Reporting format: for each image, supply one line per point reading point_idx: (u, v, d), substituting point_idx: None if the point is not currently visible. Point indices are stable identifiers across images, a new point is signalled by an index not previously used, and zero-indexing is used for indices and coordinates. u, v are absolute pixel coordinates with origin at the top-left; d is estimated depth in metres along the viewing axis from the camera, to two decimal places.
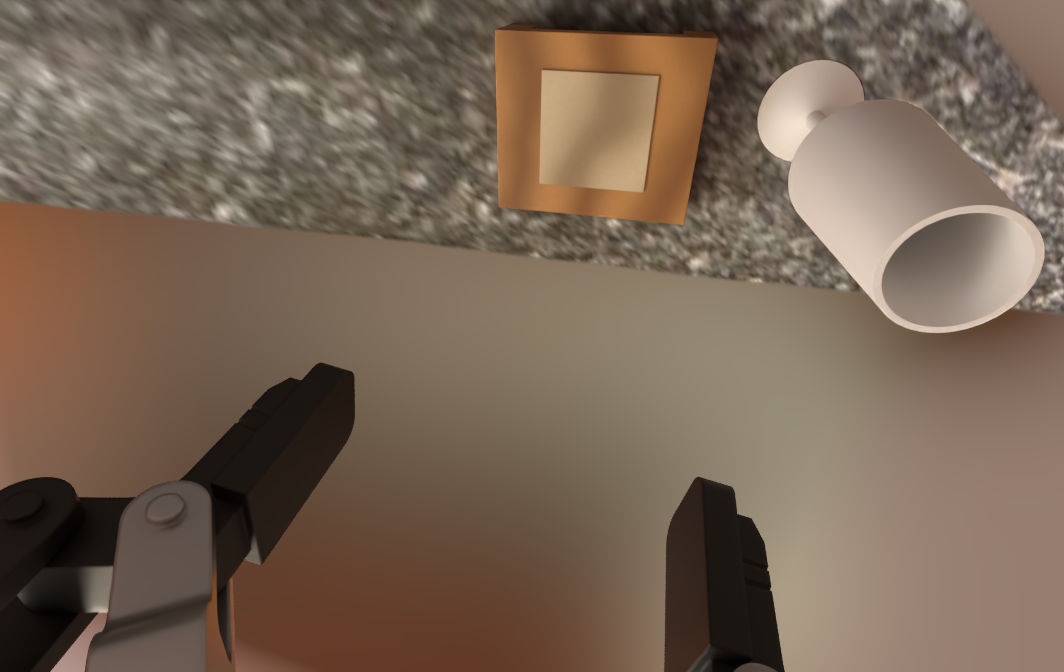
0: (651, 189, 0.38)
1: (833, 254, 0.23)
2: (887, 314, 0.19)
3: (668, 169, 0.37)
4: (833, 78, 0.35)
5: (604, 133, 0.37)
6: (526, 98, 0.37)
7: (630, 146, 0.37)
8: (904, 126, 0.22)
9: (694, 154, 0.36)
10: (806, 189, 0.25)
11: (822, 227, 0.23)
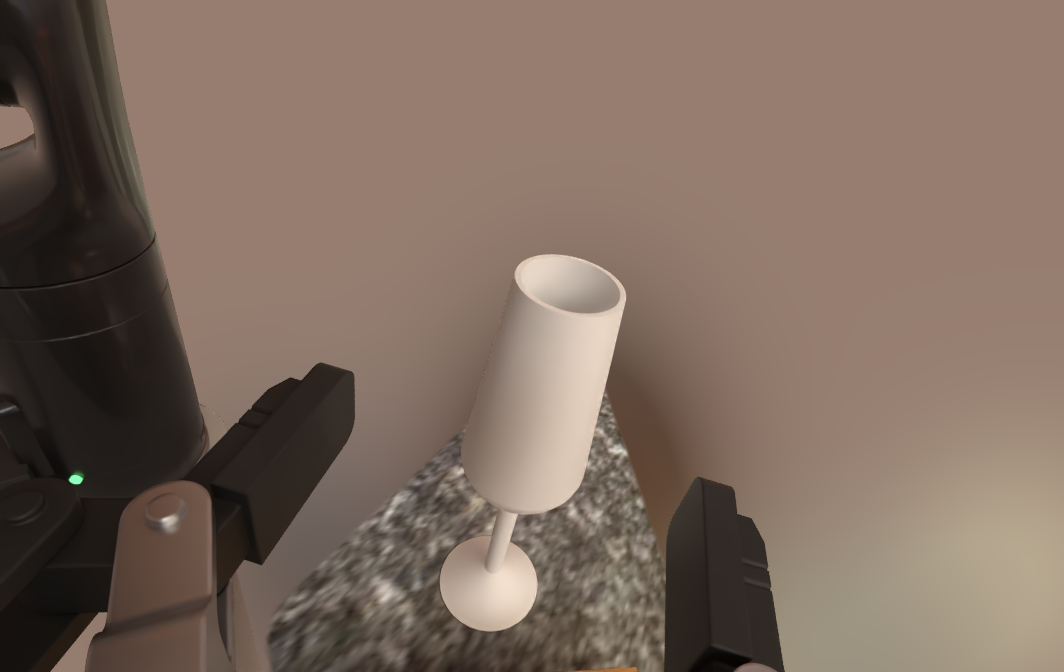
0: None
1: (594, 404, 0.24)
2: (620, 306, 0.22)
3: None
4: (455, 566, 0.36)
5: None
6: None
7: None
8: (477, 408, 0.26)
9: None
10: (546, 467, 0.25)
11: (573, 423, 0.24)
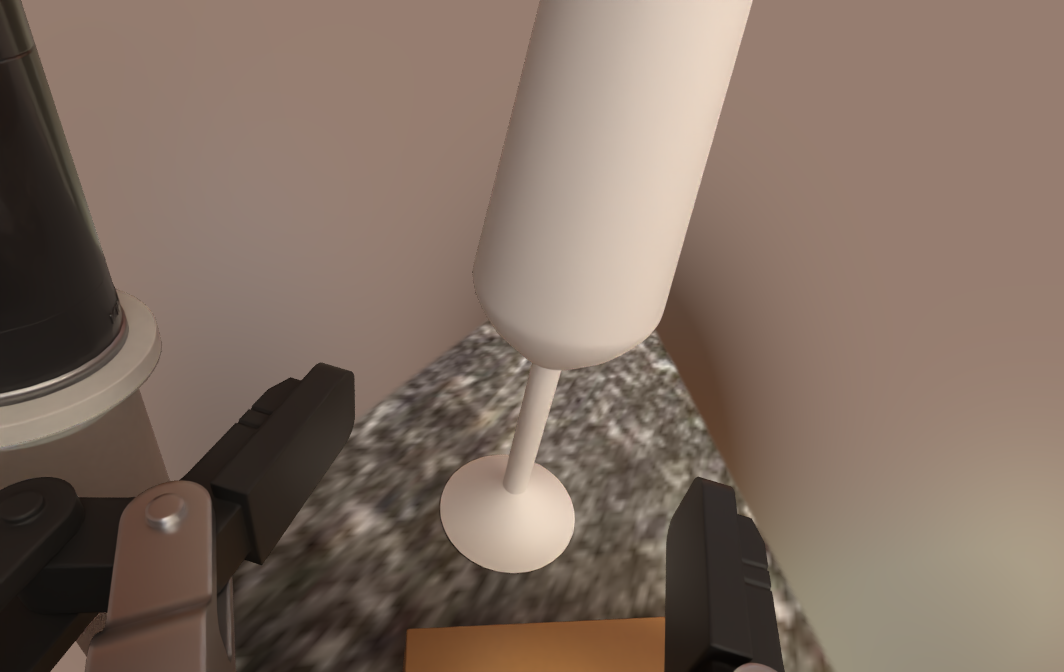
0: None
1: (706, 135, 0.14)
2: None
3: (653, 669, 0.18)
4: (461, 488, 0.26)
5: None
6: None
7: None
8: (501, 171, 0.16)
9: (610, 623, 0.19)
10: (620, 256, 0.15)
11: (673, 161, 0.14)
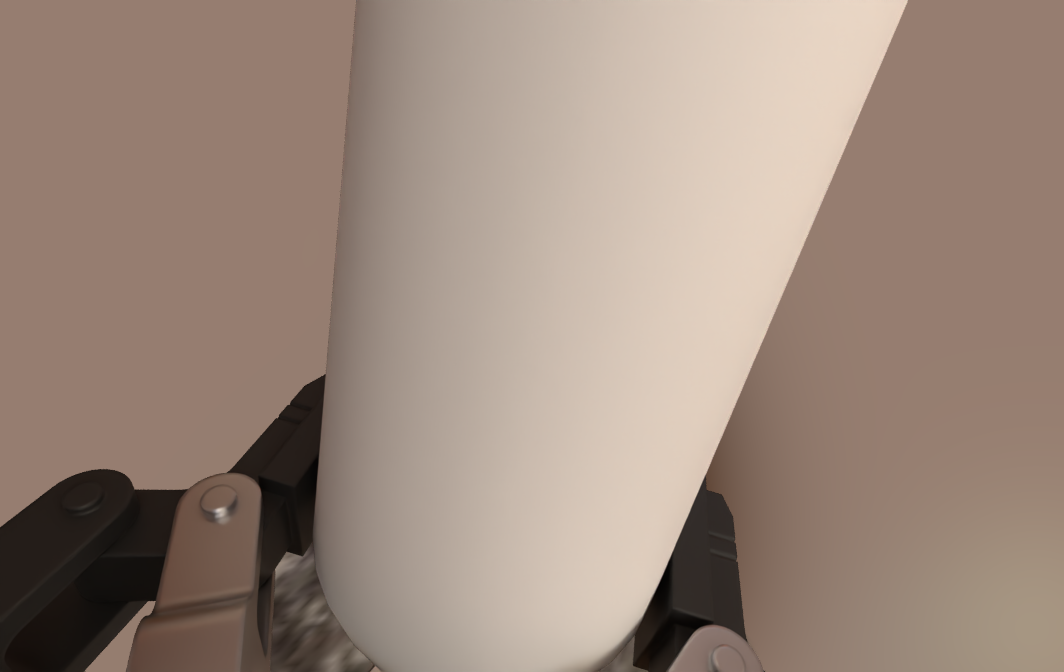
0: None
1: (754, 351, 0.06)
2: None
3: None
4: None
5: None
6: None
7: None
8: (326, 377, 0.08)
9: None
10: (560, 589, 0.07)
11: (677, 424, 0.06)
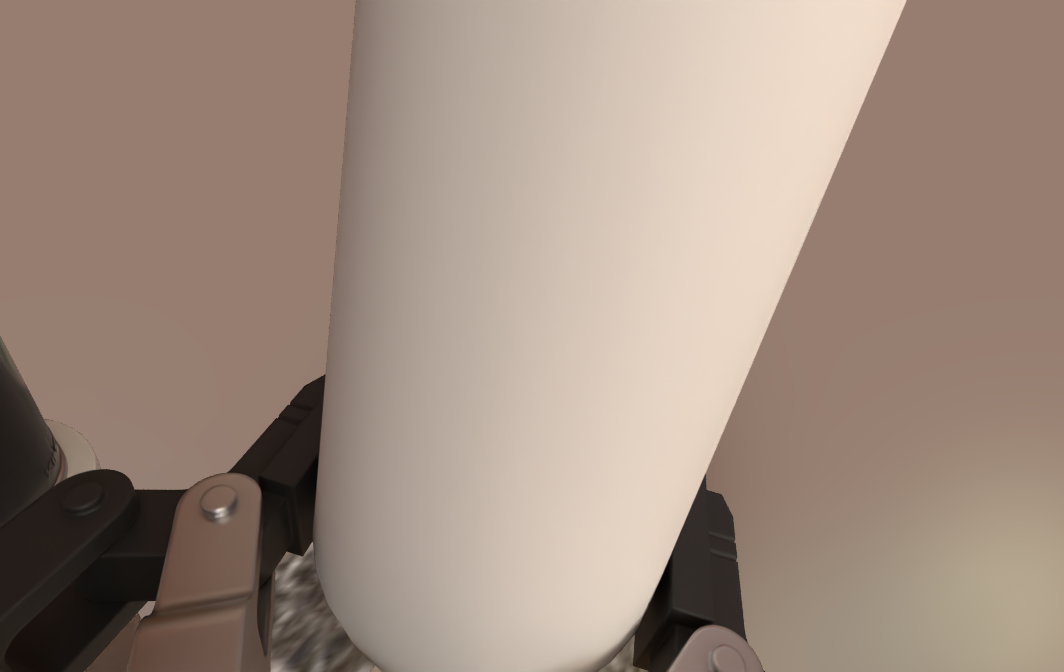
0: None
1: (753, 350, 0.06)
2: None
3: None
4: None
5: None
6: None
7: None
8: (326, 377, 0.08)
9: None
10: (559, 589, 0.07)
11: (676, 424, 0.06)
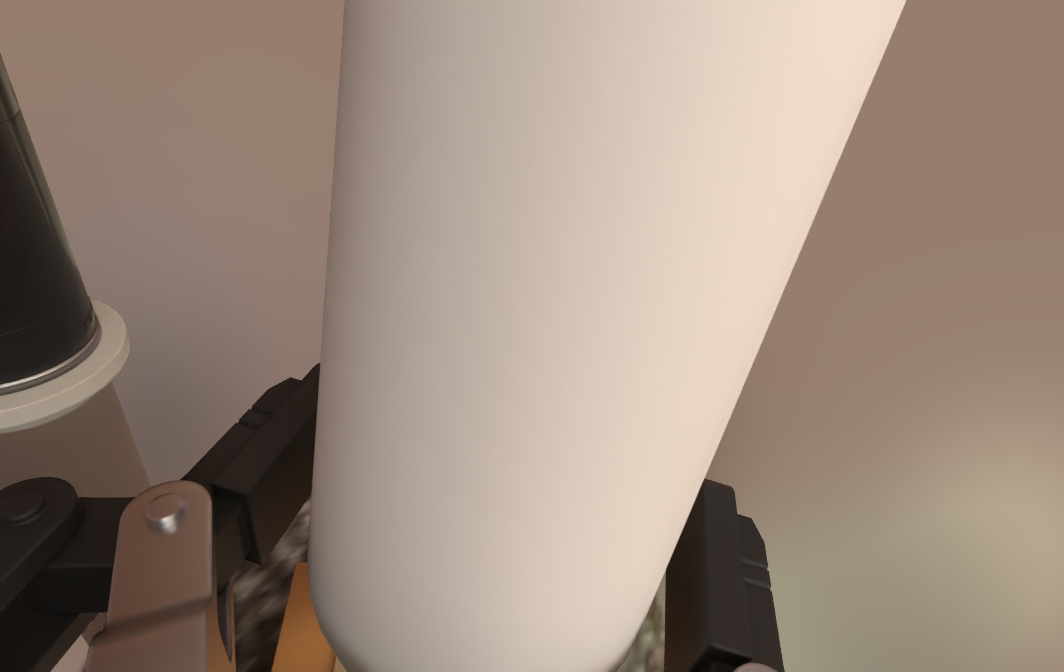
0: None
1: (735, 394, 0.06)
2: None
3: None
4: None
5: None
6: None
7: None
8: (317, 410, 0.08)
9: None
10: (545, 624, 0.07)
11: (657, 469, 0.06)
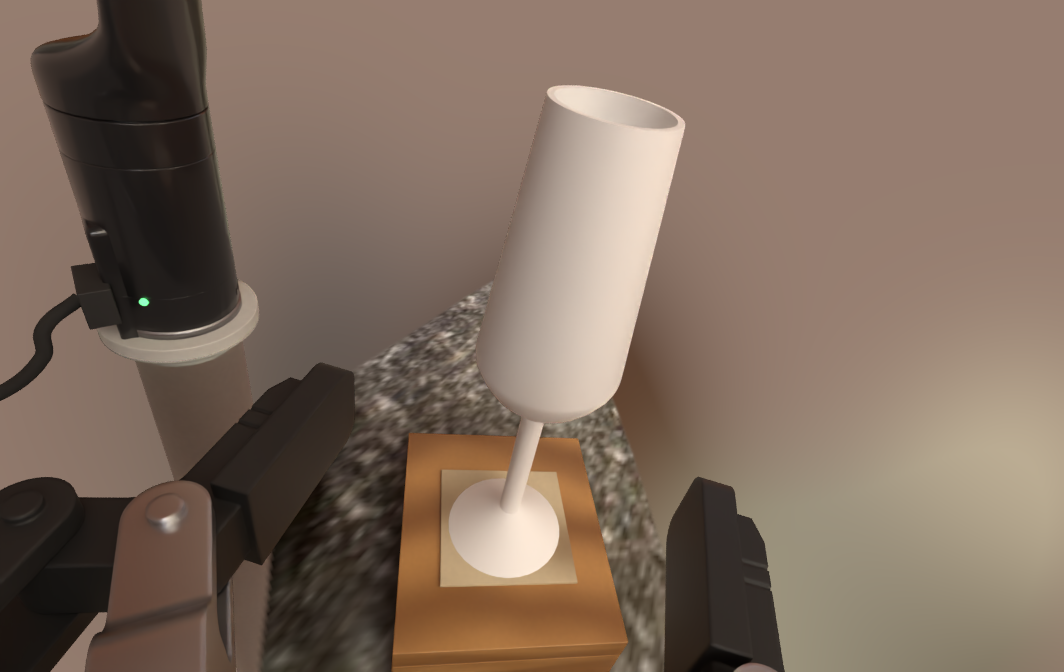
0: (551, 467, 0.36)
1: (641, 270, 0.20)
2: (680, 127, 0.17)
3: None
4: (466, 507, 0.32)
5: None
6: (475, 606, 0.28)
7: None
8: (496, 285, 0.21)
9: (509, 437, 0.38)
10: (581, 352, 0.20)
11: (616, 290, 0.19)
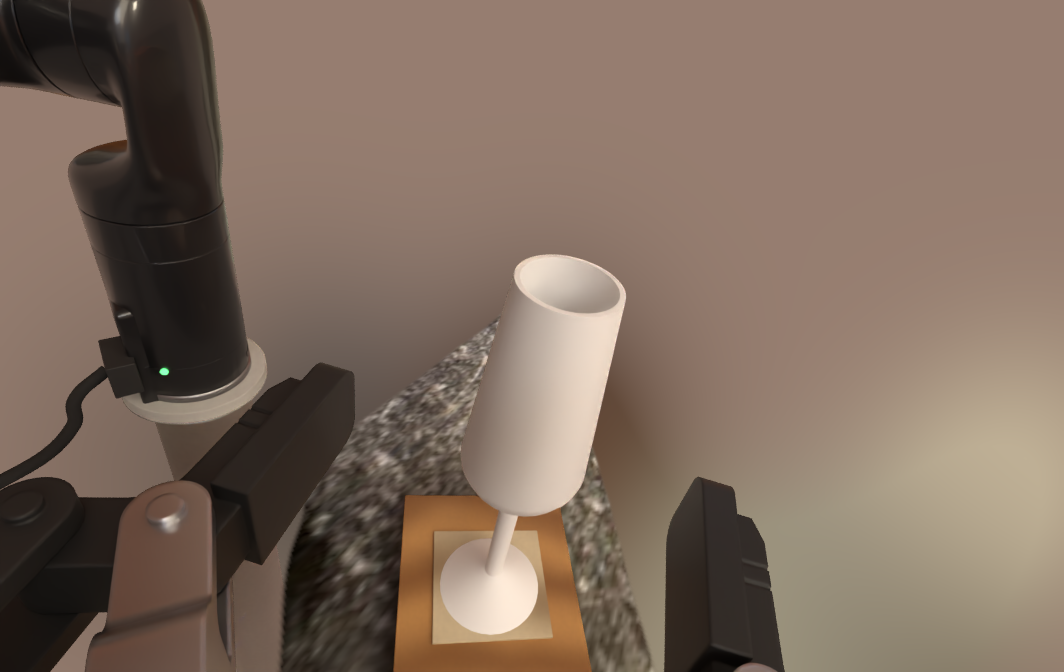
0: (532, 525, 0.41)
1: (594, 405, 0.24)
2: (620, 306, 0.21)
3: None
4: (455, 569, 0.36)
5: None
6: (463, 662, 0.32)
7: None
8: (477, 409, 0.26)
9: None
10: (546, 469, 0.25)
11: (573, 424, 0.24)
